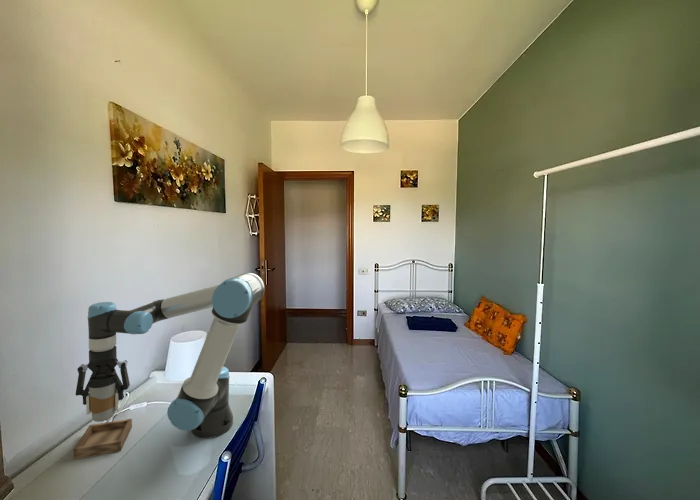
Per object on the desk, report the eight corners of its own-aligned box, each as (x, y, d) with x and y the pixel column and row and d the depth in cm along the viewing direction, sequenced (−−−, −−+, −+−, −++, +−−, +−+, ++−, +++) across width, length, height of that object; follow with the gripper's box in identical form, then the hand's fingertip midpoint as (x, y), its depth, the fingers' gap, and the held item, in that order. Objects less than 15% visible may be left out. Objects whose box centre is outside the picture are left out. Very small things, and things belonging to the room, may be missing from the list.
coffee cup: (124, 412, 114) (124, 372, 113) (101, 426, 106) (100, 383, 104) (106, 407, 116) (105, 368, 115) (82, 421, 108) (81, 379, 106)
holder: (131, 427, 120) (131, 418, 120) (121, 450, 108) (120, 441, 108) (90, 434, 115) (89, 425, 115) (73, 459, 103) (73, 449, 103)
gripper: (140, 340, 116) (140, 400, 118) (70, 346, 109) (72, 409, 111) (134, 349, 109) (135, 411, 111) (60, 355, 102) (62, 422, 104)
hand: (103, 410), depth 111 cm, fingers closed on coffee cup, 7 cm apart
